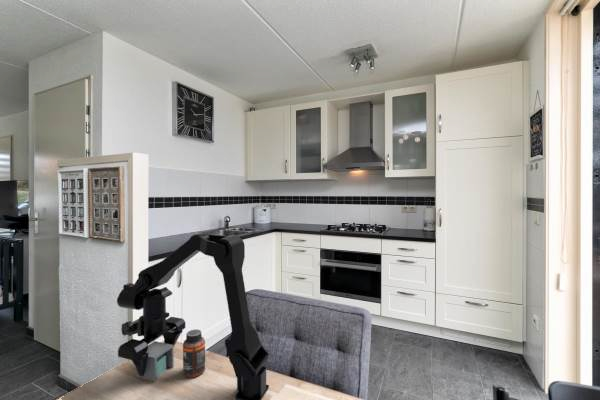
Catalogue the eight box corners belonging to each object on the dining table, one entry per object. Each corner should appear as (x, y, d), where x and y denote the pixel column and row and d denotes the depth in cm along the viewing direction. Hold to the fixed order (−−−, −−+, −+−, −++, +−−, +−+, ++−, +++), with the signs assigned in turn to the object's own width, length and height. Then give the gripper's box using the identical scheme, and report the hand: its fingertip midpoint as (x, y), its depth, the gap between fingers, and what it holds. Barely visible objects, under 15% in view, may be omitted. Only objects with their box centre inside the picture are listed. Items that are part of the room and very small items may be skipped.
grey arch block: (173, 367, 84) (173, 345, 84) (155, 381, 78) (155, 357, 77) (155, 362, 86) (154, 341, 86) (135, 376, 80) (135, 353, 80)
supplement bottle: (209, 366, 85) (208, 327, 84) (200, 379, 79) (199, 338, 78) (189, 364, 85) (189, 326, 85) (179, 377, 79) (178, 337, 79)
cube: (166, 369, 83) (166, 355, 83) (155, 377, 79) (155, 363, 79) (155, 366, 85) (155, 353, 84) (143, 374, 81) (143, 360, 81)
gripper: (157, 296, 93) (158, 344, 93) (101, 321, 75) (102, 380, 76) (186, 300, 89) (186, 350, 90) (134, 327, 72) (135, 389, 72)
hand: (155, 365), depth 82 cm, fingers open, 9 cm apart
